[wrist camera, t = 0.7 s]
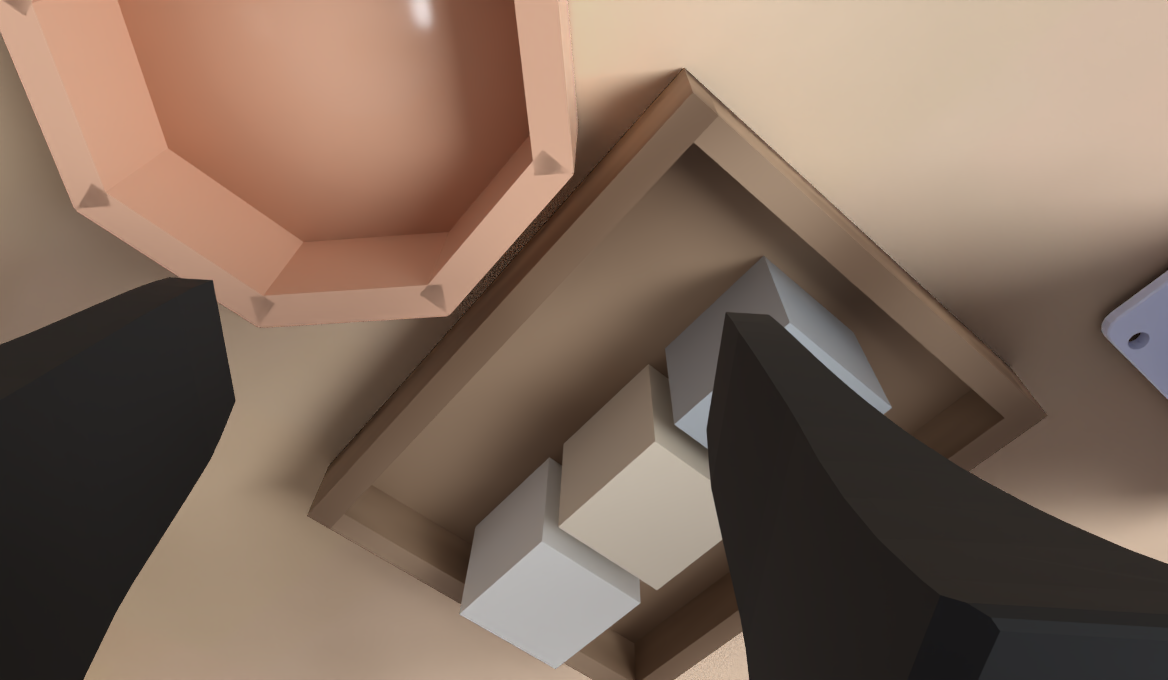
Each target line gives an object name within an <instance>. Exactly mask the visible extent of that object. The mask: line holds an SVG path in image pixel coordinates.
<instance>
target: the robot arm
mask: <svg viewBox="0 0 1168 680" xmlns="http://www.w3.org/2000/svg"><path fill="white" fill-rule="evenodd" d="M1101 331H1102V333H1103V335H1104V336H1105V337H1106V338H1107V339H1108V340H1109V341H1110V342H1111V343H1112V344H1113V345H1114V346H1115V347H1116V348H1117V349H1118V350H1119V351H1120V352H1121V353H1122V354H1123V355H1124V356H1125V357H1126V358H1127V359H1128V360H1129V361H1130V362H1131V363H1132V364H1133V365H1134V366H1135V367H1136V368H1137V369H1138V370H1139V371H1140V372H1141V373H1142V374H1143V375H1144V376H1145V377H1146V378H1147V379H1148V380H1149V381H1150V382H1151V383H1152V384H1153V385H1154V386H1155V387H1156V388H1157V389H1158V390H1159V391H1160V392H1161V393H1162V394H1163V395H1164V396H1165V397H1166V398H1167V399H1168V271H1166V272H1165V273H1164V274H1162V275H1161V276H1159V277H1158V278H1157V279H1155V280H1154V281H1153V282H1151V283H1150V284H1149V285H1147V286H1146V287H1145V288H1143V289H1142V290H1140V291H1139V292H1138V293H1136V294H1135V295H1134V296H1132V297H1131V298H1130V299H1128V300H1127V301H1126V302H1124V303H1123V304H1122V305H1120V306H1119V307H1117V308H1116V309H1115V310H1113V311H1112V312H1111V313H1110V314H1109V315H1108V316H1107V317H1106V318H1105V319H1104V321H1103V323H1102V326H1101ZM1140 332H1141V334H1140V336H1139V337H1138V338H1137V339H1135V340H1133V341H1131V342H1129V339H1130V338H1131V337H1132V336H1133V335H1135V334H1137V333H1140ZM234 403H235V396H234V390H233V385H232V380H231V374H230V369H229V364H228V358H227V353H226V348H225V342H224V337H223V332H222V326H221V321H220V316H219V310H218V305H217V300H216V294H215V289H214V284H213V280H203V279H186V278H170V277H169V278H166V279H162V280H158V281H155V282H152V283H149V284H146V285H143V286H141V287H138V288H135V289H133V290H130V291H128V292H125V293H123V294H121V295H118V296H116V297H113V298H111V299H109V300H106V301H104V302H101V303H99V304H97V305H94V306H92V307H90V308H87V309H85V310H83V311H80V312H78V313H76V314H73V315H71V316H69V317H67V318H64V319H62V320H60V321H57V322H55V323H53V324H50V325H48V326H46V327H43V328H41V329H39V330H36V331H34V332H31V333H29V334H26V335H24V336H21V337H19V338H16V339H14V340H11V341H9V342H6V343H4V344H1V345H0V680H83V679H84V677H85V675H86V673H87V671H88V669H89V667H90V665H91V663H92V661H93V658H94V656H95V654H96V652H97V650H98V648H99V646H100V644H101V642H102V640H103V638H104V636H105V634H106V632H107V630H108V628H109V625H110V623H111V621H112V619H113V617H114V615H115V613H116V611H117V610H118V608H119V606H120V604H121V603H122V601H123V599H124V597H125V596H126V594H127V592H128V590H129V589H130V587H131V585H132V583H133V582H134V580H135V579H136V577H137V576H138V574H139V572H140V571H141V569H142V568H143V566H144V565H145V563H146V561H147V560H148V558H149V557H150V555H151V554H152V552H153V550H154V549H155V547H156V546H157V544H158V543H159V541H160V539H161V538H162V536H163V535H164V533H165V532H166V530H167V528H168V527H169V525H170V524H171V522H172V520H173V519H174V517H175V516H176V514H177V513H178V511H179V509H180V508H181V506H182V505H183V503H184V502H185V500H186V498H187V497H188V495H189V494H190V492H191V490H192V489H193V487H194V485H195V484H196V482H197V481H198V479H199V477H200V476H201V474H202V473H203V471H204V469H205V468H206V466H207V464H208V462H209V461H210V459H211V457H212V455H213V453H214V451H215V448H216V446H217V444H218V442H219V440H220V437H221V435H222V433H223V431H224V428H225V426H226V423H227V421H228V418H229V416H230V413H231V411H232V408H233V406H234ZM706 432H707V445H708V459H709V470H710V481H711V490H712V494H713V499H714V504H715V508H716V513H717V518H718V522H719V527H720V531H721V536H722V540H723V544H724V549H725V553H726V558H727V562H728V566H729V571H730V575H731V580H732V584H733V588H734V593H735V597H736V602H737V606H738V610H739V615H740V619H741V625H742V630H743V636H744V642H745V647H746V655H747V664H748V672H749V680H1168V564H1166V563H1164V562H1161V561H1158V560H1155V559H1153V558H1150V557H1147V556H1144V555H1142V554H1139V553H1136V552H1134V551H1131V550H1129V549H1126V548H1124V547H1121V546H1119V545H1117V544H1114V543H1112V542H1110V541H1107V540H1105V539H1103V538H1101V537H1098V536H1096V535H1094V534H1091V533H1089V532H1087V531H1084V530H1082V529H1080V528H1077V527H1075V526H1073V525H1071V524H1068V523H1066V522H1064V521H1062V520H1060V519H1058V518H1056V517H1054V516H1051V515H1049V514H1047V513H1045V512H1043V511H1041V510H1039V509H1037V508H1035V507H1033V506H1031V505H1029V504H1027V503H1025V502H1023V501H1021V500H1019V499H1017V498H1015V497H1014V496H1012V495H1010V494H1008V493H1006V492H1004V491H1002V490H1000V489H999V488H997V487H995V486H993V485H991V484H989V483H987V482H985V481H984V480H982V479H980V478H978V477H977V476H975V475H973V474H971V473H970V472H968V471H966V470H965V469H963V468H961V467H960V466H958V465H956V464H955V463H953V462H952V461H950V460H948V459H947V458H945V457H944V456H942V455H941V454H939V453H938V452H936V451H935V450H933V449H931V448H930V447H928V446H927V445H925V444H924V443H922V442H921V441H919V440H918V439H916V438H915V437H913V436H912V435H910V434H909V433H908V432H906V431H905V430H903V429H902V428H901V427H899V426H898V425H897V424H895V423H894V422H893V421H891V420H890V419H889V418H887V417H886V416H885V415H884V414H882V413H881V412H880V411H878V410H877V409H876V408H875V407H873V406H872V405H871V404H869V403H868V402H867V401H866V400H864V399H863V398H862V397H861V396H860V395H858V394H857V393H856V392H855V391H854V390H852V389H851V388H850V387H849V386H848V385H847V384H845V383H844V382H843V381H842V380H841V379H840V378H838V377H837V376H836V375H835V374H834V373H833V372H832V371H831V370H829V369H828V368H827V367H826V366H825V365H824V364H823V363H822V362H821V361H820V360H818V359H817V358H816V357H815V356H814V355H813V354H812V353H811V352H810V351H809V350H808V349H807V348H806V347H805V346H803V345H802V344H801V343H800V342H799V341H798V340H797V339H796V338H795V337H794V336H793V335H792V334H791V333H790V332H788V331H787V330H786V329H785V328H784V327H783V326H782V325H781V324H780V323H779V322H777V321H776V320H775V319H774V318H773V317H771V316H770V315H768V314H751V313H735V312H726V313H725V319H724V325H723V331H722V337H721V343H720V349H719V355H718V361H717V368H716V374H715V380H714V386H713V392H712V398H711V404H710V410H709V416H708V422H707V428H706Z"/></svg>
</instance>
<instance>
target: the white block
mask: <svg viewBox="0 0 1168 680" xmlns="http://www.w3.org/2000/svg"><path fill="white" fill-rule="evenodd" d="M561 475H562V466H561V465H560V464H558V463H557V462H556V461H554V460H553V459H551V458H550V457H549V458H548V459H547V460H546V461H545V462H544V463H543V464H542V465H541V466H540V467H539V468H537V469H536V470H535V471H534V472H533V473H532V474H531V475H530V476H529V477H528V478H527V479H526V480H525V481H524V482H523V483H522V484H520V485H519V486H518V487H517V488H516V489H515V490H514V491H513V492H512V493H511V494H510V495H509V496H508V497H507V498H506V499H505V500H503V501H502V502H501V503H500V504H499V505H498V506H497V507H496V508H495V509H494V510H493V511H492V512H491V513H490V514H489V515H488V516H486V517H485V518H484V519H483V520H482V521H481V522H480V523H479V524H478V525H477V526H476V527H475V532H474V538H473V543H472V548H471V554H470V559H469V564H468V570H467V575H466V580H465V586H464V591H463V597H462V602H461V607H460V613H459V614H460V615H461V616H463V617H465V618H467V619H468V620H470V621H472V622H474V623H475V624H477V625H479V626H481V627H482V628H484V629H486V630H488V631H489V632H491V633H493V634H495V635H496V636H498V637H500V638H502V639H503V640H505V641H507V642H509V643H511V644H512V645H514V646H516V647H518V648H519V649H521V650H523V651H525V652H526V653H528V654H530V655H532V656H533V657H535V658H537V659H539V660H540V661H542V662H544V663H546V664H547V665H549V666H551V667H553V668H555V669H556V668H558V667H559V666H560V665H562V664H563V663H564V662H565V661H567V660H568V659H569V658H571V657H572V656H573V655H574V654H576V653H577V652H578V651H580V650H581V649H582V648H583V647H585V646H586V645H587V644H589V643H590V642H591V641H592V640H594V639H595V638H596V637H598V636H599V635H600V634H601V633H603V632H604V631H605V630H607V629H608V628H609V627H610V626H612V625H613V624H614V623H616V622H617V621H618V620H619V619H621V618H622V617H623V616H625V615H626V614H627V613H628V612H630V611H631V610H632V609H634V608H635V607H636V606H637V605H639V604H640V603H641V602H640V581H639V578H637V577H636V576H634V575H632V574H631V573H629V572H628V571H626V570H625V569H623V568H621V567H620V566H618V565H617V564H615V563H614V562H612V561H611V560H609V559H607V558H606V557H604V556H603V555H601V554H600V553H598V552H596V551H595V550H593V549H592V548H590V547H589V546H587V545H585V544H584V543H582V542H581V541H579V540H578V539H576V538H575V537H573V536H571V535H570V534H568V533H567V532H565V531H564V530H562V529H560V528H559V527H558V521H559V506H560V491H561Z"/></svg>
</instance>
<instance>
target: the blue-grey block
mask: <svg viewBox="0 0 1168 680" xmlns="http://www.w3.org/2000/svg"><path fill="white" fill-rule="evenodd" d="M726 312H735V313H751V314H768V315H770V316H771V317H773V318H774V319H775V320H776V321H777V322H779V323H780V324H781V325H782V326H783V327H784V328H785V329H786V330H787V331H788V332H790V333H791V334H792V335H793V336H794V337H795V338H796V339H797V340H798V341H799V342H800V343H801V344H802V345H803V346H805V347H806V348H807V349H808V350H809V351H810V352H811V353H812V354H813V355H814V356H815V357H816V358H817V359H818V360H820V361H821V362H822V363H823V364H824V365H825V366H826V367H827V368H828V369H829V370H831V371H832V372H833V373H834V374H835V375H836V376H837V377H838V378H840V379H841V380H842V381H843V382H844V383H845V384H847V385H848V386H849V387H850V388H851V389H852V390H854V391H855V392H856V393H857V394H858V395H860V396H861V397H862V398H863V399H864V400H866V401H867V402H868V403H869V404H871V405H872V406H873V407H875V408H876V409H877V410H878V411H880V412H881V413H882V414H885V413H886V412H887V411H888V410H890V409H891V408H892V407H891V405H890V403H889V401H888V399H887V397H886V395H885V393H884V391H883V389H882V387H881V385H880V383H879V381H878V379H877V377H876V375H875V373H874V371H873V369H872V367H871V366H870V364H869V362H868V360H867V358H866V356H865V354H864V352H863V350H862V348H861V346H860V344H859V342H858V340H857V338H856V336H855V334H854V332H852V331H851V330H850V329H849V328H848V327H847V326H845V325H844V324H843V323H842V322H841V321H840V320H838V319H837V318H836V317H835V316H834V315H833V314H831V313H830V312H829V311H828V310H827V309H826V308H824V307H823V306H822V305H821V304H820V303H819V302H817V301H816V300H815V299H814V298H813V297H812V296H810V295H809V294H808V293H807V292H806V291H805V290H803V289H802V288H801V287H800V286H799V285H798V284H796V283H795V282H794V281H793V280H792V279H791V278H789V277H788V276H787V275H786V274H785V273H784V272H783V271H781V270H780V269H779V268H778V267H777V266H776V265H774V264H773V263H772V262H771V261H770V260H769V259H767V258H766V257H765V256H763V257H762V258H761V259H760V260H758V261H757V262H756V263H755V264H754V265H753V266H752V267H751V268H750V269H749V270H748V271H747V272H746V273H745V274H744V275H743V276H741V277H740V278H739V279H738V280H737V281H736V282H735V283H734V284H733V285H732V286H731V287H730V288H729V289H728V290H727V291H726V292H724V293H723V294H722V295H721V296H720V297H719V298H718V299H717V300H716V301H715V302H714V303H713V304H712V305H711V306H710V307H709V308H707V309H706V310H705V311H704V312H703V313H702V314H701V315H700V316H699V317H698V318H697V319H696V320H695V321H694V322H693V323H692V324H690V325H689V326H688V327H687V328H686V329H685V330H684V331H683V332H682V333H681V334H680V335H679V336H678V337H677V338H676V339H675V340H673V341H672V342H671V343H670V344H669V345H668V346H667V347H666V348H665V352H666V361H667V369H668V377H669V385H670V393H671V402H672V410H673V418H674V425H676V426H677V427H678V428H680V429H681V430H683V431H684V432H685V433H687V434H688V435H689V436H691V437H692V438H693V439H695V440H696V441H698V442H699V443H700V444H702V445H703V446H704V447H706V448H707V449H708V445H707V432H706V428H707V422H708V416H709V410H710V404H711V398H712V392H713V386H714V380H715V374H716V368H717V361H718V355H719V349H720V343H721V337H722V331H723V325H724V319H725V313H726Z"/></svg>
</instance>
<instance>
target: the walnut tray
mask: <svg viewBox="0 0 1168 680" xmlns="http://www.w3.org/2000/svg"><path fill="white" fill-rule="evenodd" d="M763 256H765V257H766V258H767V259H769V260H770V261H771V262H772V263H773V264H774V265H776V266H777V267H778V268H779V269H780V270H781V271H783V272H784V273H785V274H786V275H787V276H788V277H789V278H791V279H792V280H793V281H794V282H795V283H796V284H798V285H799V286H800V287H801V288H802V289H803V290H805V291H806V292H807V293H808V294H809V295H810V296H812V297H813V298H814V299H815V300H816V301H817V302H819V303H820V304H821V305H822V306H823V307H824V308H826V309H827V310H828V311H829V312H830V313H831V314H833V315H834V316H835V317H836V318H837V319H838V320H840V321H841V322H842V323H843V324H844V325H845V326H847V327H848V328H849V329H850V330H851V331H852V332H854V334H855V336H856V338H857V340H858V342H859V344H860V346H861V348H862V350H863V352H864V354H865V356H866V358H867V360H868V362H869V364H870V366H871V367H872V369H873V371H874V373H875V375H876V377H877V379H878V381H879V383H880V385H881V387H882V389H883V391H884V393H885V395H886V397H887V399H888V401H889V403H890V405H891V407H892V408H891V409H890V410H888V411H887V412H886V413H885V414H884V415H885V416H886V417H887V418H889V419H890V420H891V421H893V422H894V423H895V424H897V425H898V426H899V427H901V428H902V429H903V430H905V431H906V432H908V433H909V434H910V435H912V436H913V437H915V438H916V439H918V440H919V441H921V442H922V443H924V444H925V445H927V446H928V447H930V448H931V449H933V450H935V451H936V452H938V453H939V454H941V455H942V456H944V457H945V458H947V459H948V460H950V461H952V462H953V463H955V464H956V465H958V466H960V467H961V468H963V469H965V470H966V471H968V472H969V471H970V470H971V469H973V468H974V467H976V466H977V465H978V464H980V463H981V462H983V461H984V460H986V459H987V458H988V457H990V456H991V455H993V454H994V453H995V452H997V451H998V450H1000V449H1001V448H1003V447H1004V446H1005V445H1007V444H1008V443H1010V442H1011V441H1012V440H1014V439H1015V438H1017V437H1018V436H1020V435H1021V434H1022V433H1024V432H1025V431H1027V430H1028V429H1029V428H1031V427H1032V426H1034V425H1035V424H1037V423H1038V422H1039V421H1041V420H1042V419H1044V418H1045V417H1046V416H1047V414H1046V413H1045V412H1044V410H1043V409H1042V408H1041V407H1040V405H1039V404H1038V403H1037V401H1036V400H1035V399H1034V397H1033V396H1032V395H1031V394H1030V392H1029V391H1028V390H1027V388H1026V387H1025V386H1024V385H1023V383H1022V382H1021V381H1020V379H1019V378H1018V377H1017V376H1016V374H1015V373H1014V372H1013V370H1012V369H1011V368H1010V367H1009V366H1008V365H1007V364H1006V363H1004V362H1003V361H1002V360H1001V359H1000V358H999V357H998V356H997V355H996V354H995V353H994V352H992V351H991V350H990V349H989V348H988V347H987V346H986V345H985V344H984V343H983V342H982V341H981V340H979V339H978V338H977V337H976V336H975V335H974V334H973V333H972V332H971V331H970V330H969V329H967V328H966V327H965V326H964V325H963V324H962V323H961V322H960V321H959V320H958V319H957V318H956V317H954V316H953V315H952V314H951V313H950V312H949V311H948V310H947V309H946V308H945V307H944V306H943V305H941V304H940V303H939V302H938V301H937V300H936V299H935V298H934V297H933V296H932V295H931V294H929V293H928V292H927V291H926V290H925V289H924V288H923V287H922V286H921V285H920V284H919V283H918V282H916V281H915V280H914V279H913V278H912V277H911V276H910V275H909V274H908V273H907V272H906V271H904V270H903V269H902V268H901V267H900V266H899V265H898V264H897V263H896V262H895V261H894V260H893V259H891V258H890V257H889V256H888V255H887V254H886V253H885V252H884V251H883V250H882V249H881V248H880V247H878V246H877V245H876V244H875V243H874V242H873V241H872V240H871V239H870V238H869V237H868V236H866V235H865V234H864V233H863V232H862V231H861V230H860V229H859V228H858V227H857V226H856V225H855V224H853V223H852V222H851V221H850V220H849V219H848V218H847V217H846V216H845V215H844V214H843V213H841V212H840V211H839V210H838V209H837V208H836V207H835V206H834V205H833V204H832V203H831V202H830V201H828V200H827V199H826V198H825V197H824V196H823V195H822V194H821V193H820V192H819V191H818V190H817V189H815V188H814V187H813V186H812V185H811V184H810V183H809V182H808V181H807V180H806V179H805V178H803V177H802V176H801V175H800V174H799V173H798V172H797V171H796V170H795V169H794V168H793V167H792V166H790V165H789V164H788V163H787V162H786V161H785V160H784V159H783V158H782V157H781V156H780V155H779V154H777V153H776V152H775V151H774V150H773V149H772V148H771V147H770V146H769V145H768V144H767V143H765V142H764V141H763V140H762V139H761V138H760V137H759V136H758V135H757V134H756V133H755V132H754V131H752V130H751V129H750V128H749V127H748V126H747V125H746V124H745V123H744V122H743V121H742V120H740V119H739V118H738V117H737V116H736V115H735V114H734V113H733V112H732V111H731V110H730V109H729V108H727V107H726V106H725V105H724V104H723V103H722V102H721V101H720V100H719V99H718V98H717V97H716V96H714V95H713V94H712V93H711V92H710V91H709V90H708V89H707V88H706V87H705V86H704V85H702V84H701V83H700V82H699V81H698V80H697V79H696V78H695V77H694V76H693V75H692V74H691V73H689V72H688V71H687V70H686V69H685V68H683V69H682V70H681V72H680V73H679V74H678V75H677V76H676V77H675V78H674V79H673V81H672V82H671V83H670V84H669V85H668V86H667V87H666V88H665V90H664V91H663V92H662V93H661V94H660V95H659V96H658V97H657V99H656V100H655V101H654V102H653V103H652V104H651V105H650V106H649V107H648V109H647V110H646V111H645V112H644V113H643V114H642V115H641V116H640V118H639V119H638V120H637V121H636V122H635V123H634V124H633V125H632V127H631V128H630V129H629V130H628V131H627V132H626V133H625V134H624V136H623V137H622V138H621V139H620V140H619V141H618V142H617V143H616V145H615V146H614V147H613V148H612V149H611V150H610V151H609V152H608V153H607V155H606V156H605V157H604V158H603V159H602V160H601V161H600V162H599V164H598V165H597V166H596V167H595V168H594V169H593V170H592V171H591V173H590V174H589V175H588V176H587V177H586V178H585V179H584V180H583V182H582V183H581V184H580V185H579V186H578V187H577V188H576V189H575V190H574V192H573V193H572V194H571V195H570V196H569V197H568V198H567V199H566V201H565V202H564V203H563V204H562V205H561V206H560V207H559V208H558V210H557V211H556V212H555V213H554V214H553V215H552V216H551V217H550V219H549V220H548V221H547V222H546V223H545V224H544V225H543V226H542V227H541V229H540V230H539V231H538V232H537V233H536V234H535V235H534V236H533V238H532V239H531V240H530V241H529V242H528V243H527V244H526V245H525V247H524V248H523V249H522V250H521V251H520V252H519V253H518V254H517V256H516V257H515V258H514V259H513V260H512V261H511V262H510V263H509V265H508V266H507V267H506V268H505V269H504V270H503V271H502V272H501V273H500V275H499V276H498V277H497V278H496V279H495V280H494V281H493V282H492V284H491V285H490V286H489V287H488V288H487V289H486V290H485V291H484V293H483V294H482V295H481V296H480V297H479V298H478V299H477V300H476V302H475V303H474V304H473V305H472V306H471V307H470V308H469V309H468V310H467V312H466V313H465V314H464V315H463V316H462V317H461V318H460V319H459V321H458V322H457V323H456V324H455V325H454V326H453V327H452V328H451V330H450V331H449V332H448V333H447V334H446V335H445V336H444V337H443V339H442V340H441V341H440V342H439V343H438V344H437V345H436V346H435V347H434V349H433V350H432V351H431V352H430V353H429V354H428V355H427V356H426V358H425V359H424V360H423V361H422V362H421V363H420V364H419V365H418V367H417V368H416V369H415V370H414V371H413V372H412V373H411V374H410V376H409V377H408V378H407V379H406V380H405V381H404V382H403V383H402V384H401V386H400V387H399V388H398V389H397V390H396V391H395V392H394V393H393V395H392V396H391V397H390V398H389V399H388V400H387V401H386V402H385V404H384V405H383V406H382V407H381V408H380V409H379V410H378V411H377V413H376V414H375V415H374V416H373V417H372V418H371V419H370V420H369V422H368V423H367V424H366V425H365V426H364V427H363V428H362V429H361V430H360V432H359V433H358V434H357V435H356V436H355V437H354V438H353V439H352V441H351V442H350V443H349V444H348V445H347V446H346V447H345V448H344V450H343V451H342V452H341V453H340V454H339V455H338V456H337V457H336V459H335V460H334V461H333V462H332V463H331V464H330V465H329V467H328V469H327V472H326V474H325V476H324V478H323V481H322V483H321V485H320V488H319V490H318V492H317V494H316V497H315V499H314V501H313V504H312V506H311V508H310V510H309V513H308V515H307V516H308V517H310V518H312V519H314V520H315V521H317V522H319V523H321V524H322V525H324V526H326V527H328V528H329V529H331V530H333V531H335V532H336V533H338V534H340V535H342V536H343V537H345V538H347V539H348V540H350V541H352V542H354V543H355V544H357V545H359V546H361V547H362V548H364V549H366V550H368V551H369V552H371V553H373V554H375V555H376V556H378V557H380V558H382V559H383V560H385V561H387V562H389V563H390V564H392V565H394V566H396V567H397V568H399V569H401V570H403V571H404V572H406V573H408V574H409V575H411V576H413V577H415V578H416V579H418V580H420V581H422V582H423V583H425V584H427V585H429V586H430V587H432V588H434V589H436V590H437V591H439V592H441V593H443V594H444V595H446V596H448V597H450V598H451V599H453V600H455V601H457V602H458V603H460V604H461V602H462V597H463V591H464V586H465V580H466V575H467V570H468V564H469V559H470V554H471V548H472V543H473V538H474V532H475V527H476V526H477V525H478V524H479V523H480V522H481V521H482V520H483V519H484V518H485V517H486V516H488V515H489V514H490V513H491V512H492V511H493V510H494V509H495V508H496V507H497V506H498V505H499V504H500V503H501V502H502V501H503V500H505V499H506V498H507V497H508V496H509V495H510V494H511V493H512V492H513V491H514V490H515V489H516V488H517V487H518V486H519V485H520V484H522V483H523V482H524V481H525V480H526V479H527V478H528V477H529V476H530V475H531V474H532V473H533V472H534V471H535V470H536V469H537V468H539V467H540V466H541V465H542V464H543V463H544V462H545V461H546V460H547V459H548V458H549V457H550V458H551V459H553V460H554V461H556V462H557V463H558V464H560V465H561V466H562V460H563V445H564V443H565V442H566V441H567V440H568V439H569V438H570V437H571V436H573V435H574V434H575V433H576V432H577V431H578V430H579V429H580V428H581V427H582V426H583V425H584V424H585V423H586V422H587V421H588V420H590V419H591V418H592V417H593V416H594V415H595V414H596V413H597V412H598V411H599V410H600V409H601V408H602V407H603V406H604V405H605V404H607V403H608V402H609V401H610V400H611V399H612V398H613V397H614V396H615V395H616V394H617V393H618V392H619V391H620V390H621V389H622V388H624V387H625V386H626V385H627V384H628V383H629V382H630V381H631V380H632V379H633V378H634V377H635V376H636V375H637V374H638V373H639V372H641V371H642V370H643V369H644V368H645V367H646V366H647V365H648V364H649V365H651V366H652V367H653V368H655V369H656V370H657V371H659V372H660V373H661V374H663V375H664V376H665V377H666V378H668V379H669V377H668V369H667V361H666V352H665V348H666V347H667V346H668V345H669V344H670V343H671V342H672V341H673V340H675V339H676V338H677V337H678V336H679V335H680V334H681V333H682V332H683V331H684V330H685V329H686V328H687V327H688V326H689V325H690V324H692V323H693V322H694V321H695V320H696V319H697V318H698V317H699V316H700V315H701V314H702V313H703V312H704V311H705V310H706V309H707V308H709V307H710V306H711V305H712V304H713V303H714V302H715V301H716V300H717V299H718V298H719V297H720V296H721V295H722V294H723V293H724V292H726V291H727V290H728V289H729V288H730V287H731V286H732V285H733V284H734V283H735V282H736V281H737V280H738V279H739V278H740V277H741V276H743V275H744V274H745V273H746V272H747V271H748V270H749V269H750V268H751V267H752V266H753V265H754V264H755V263H756V262H757V261H758V260H760V259H761V258H762V257H763ZM639 581H640V602H641V603H640V604H639V605H637V606H636V607H635V608H634V609H632V610H631V611H630V612H628V613H627V614H626V615H625V616H623V617H622V618H621V619H619V620H618V621H617V622H616V623H614V624H613V625H612V626H610V627H609V628H608V629H607V630H605V631H604V632H603V633H601V634H600V635H599V636H598V637H596V638H595V639H594V640H592V641H591V642H590V643H589V644H587V645H586V646H585V647H583V648H582V649H581V650H580V651H578V652H577V653H576V654H574V655H573V656H572V657H571V658H569V659H568V660H567V661H565V662H564V663H565V664H566V665H568V666H570V667H572V668H573V669H575V670H577V671H579V672H580V673H582V674H584V675H586V676H587V677H589V678H591V679H592V680H674V679H675V678H677V677H678V676H680V675H681V674H683V673H684V672H685V671H687V670H688V669H690V668H691V667H692V666H694V665H695V664H697V663H698V662H700V661H701V660H702V659H704V658H705V657H707V656H708V655H709V654H711V653H712V652H714V651H715V650H717V649H718V648H719V647H721V646H722V645H724V644H725V643H726V642H728V641H729V640H731V639H732V638H734V637H735V636H736V635H738V634H739V633H741V632H742V631H743V630H742V625H741V619H740V615H739V610H738V606H737V602H736V597H735V593H734V588H733V584H732V580H731V575H730V571H729V566H728V562H727V558H726V553H725V549H724V544H723V540H721V541H720V542H719V543H717V544H716V545H715V546H713V547H712V548H711V549H710V550H708V551H707V552H706V553H704V554H703V555H702V556H701V557H699V558H698V559H697V560H695V561H694V562H693V563H692V564H690V565H689V566H688V567H686V568H685V569H684V570H683V571H681V572H680V573H679V574H677V575H676V576H675V577H673V578H672V579H671V580H670V581H668V582H667V583H666V584H664V585H663V586H662V587H661V588H659V589H658V590H656V589H654V588H653V587H651V586H650V585H648V584H647V583H645V582H643V581H642V580H640V579H639Z"/></svg>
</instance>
